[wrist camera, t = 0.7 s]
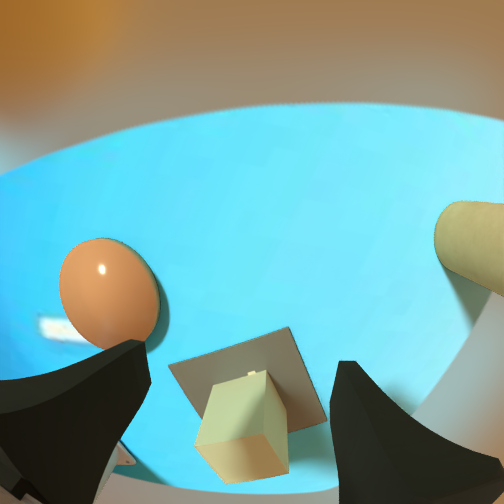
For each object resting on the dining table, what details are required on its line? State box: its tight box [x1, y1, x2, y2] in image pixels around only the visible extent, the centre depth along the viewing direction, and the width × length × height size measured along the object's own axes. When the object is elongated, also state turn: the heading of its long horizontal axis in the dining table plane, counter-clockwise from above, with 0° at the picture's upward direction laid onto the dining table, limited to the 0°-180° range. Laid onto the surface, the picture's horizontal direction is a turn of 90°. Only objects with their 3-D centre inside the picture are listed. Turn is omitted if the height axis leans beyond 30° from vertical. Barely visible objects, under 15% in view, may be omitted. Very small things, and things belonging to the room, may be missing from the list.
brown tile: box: [168, 327, 327, 433], centre depth 22 cm, size 10×10×1 cm
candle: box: [434, 201, 504, 297], centre depth 14 cm, size 6×6×10 cm
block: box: [194, 370, 289, 484], centre depth 19 cm, size 4×4×7 cm
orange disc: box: [59, 238, 160, 350], centre depth 21 cm, size 9×9×1 cm
